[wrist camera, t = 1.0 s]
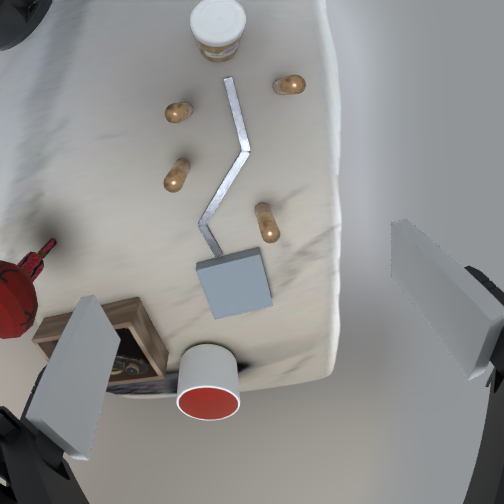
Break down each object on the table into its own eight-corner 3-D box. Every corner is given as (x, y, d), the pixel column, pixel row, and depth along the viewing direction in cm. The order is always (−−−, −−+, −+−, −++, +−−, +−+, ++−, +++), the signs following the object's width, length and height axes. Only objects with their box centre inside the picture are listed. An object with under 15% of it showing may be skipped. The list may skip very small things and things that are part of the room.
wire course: (154, 99, 34) (137, 100, 27) (284, 66, 33) (299, 59, 26) (204, 258, 44) (202, 290, 37) (316, 230, 44) (334, 257, 37)
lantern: (27, 257, 41) (-75, 395, 15) (32, 204, 37) (-104, 335, 11) (75, 277, 44) (-9, 439, 17) (84, 224, 40) (-34, 389, 14)
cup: (235, 339, 52) (239, 384, 43) (237, 376, 57) (240, 419, 48) (176, 340, 51) (171, 386, 42) (184, 378, 56) (181, 420, 47)
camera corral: (44, 318, 47) (31, 340, 42) (138, 296, 46) (130, 321, 41) (78, 366, 53) (69, 388, 47) (168, 352, 52) (165, 378, 47)
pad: (196, 263, 44) (195, 270, 43) (258, 247, 44) (260, 254, 42) (214, 311, 49) (214, 319, 47) (271, 297, 48) (273, 305, 47)
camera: (70, 340, 50) (56, 371, 43) (65, 313, 47) (48, 344, 40) (153, 357, 53) (147, 391, 46) (154, 330, 50) (147, 365, 43)
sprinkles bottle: (221, 69, 33) (221, 53, 21) (191, 48, 31) (176, 24, 19) (245, 42, 31) (258, 14, 20) (216, 21, 30) (214, -15, 18)
